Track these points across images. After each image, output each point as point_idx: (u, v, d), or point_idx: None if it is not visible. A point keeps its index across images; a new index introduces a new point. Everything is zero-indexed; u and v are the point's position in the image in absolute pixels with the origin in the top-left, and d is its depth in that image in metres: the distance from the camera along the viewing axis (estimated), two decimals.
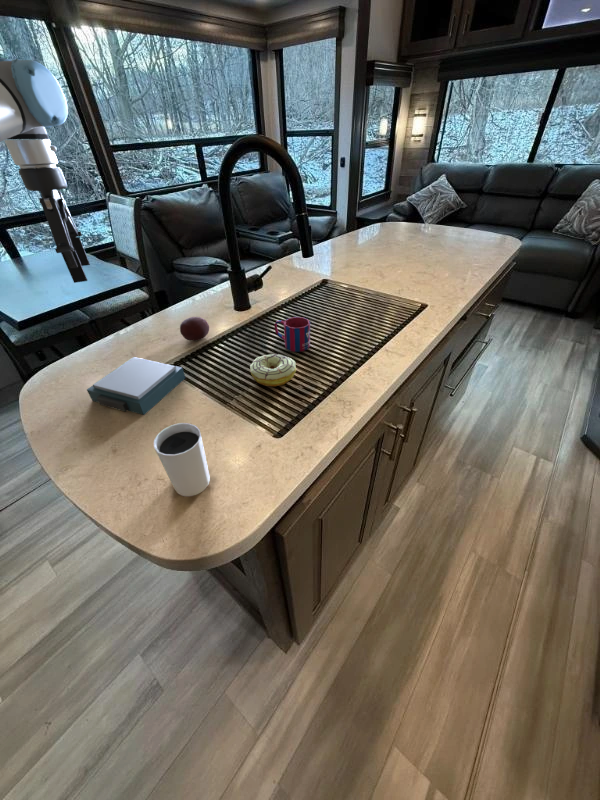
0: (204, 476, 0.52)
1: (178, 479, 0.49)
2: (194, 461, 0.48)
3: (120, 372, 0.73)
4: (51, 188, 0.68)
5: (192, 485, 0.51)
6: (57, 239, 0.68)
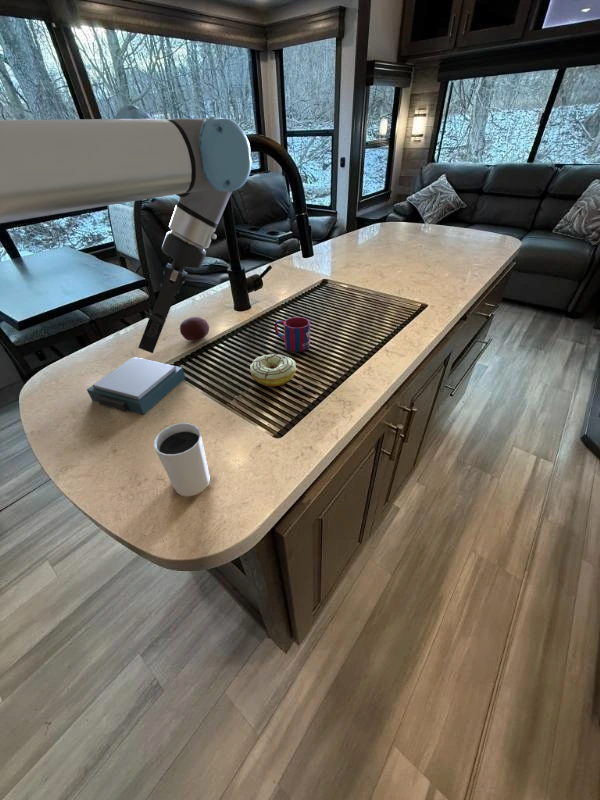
0: (204, 476, 0.52)
1: (178, 479, 0.49)
2: (194, 461, 0.48)
3: (120, 372, 0.73)
4: (186, 264, 0.61)
5: (192, 485, 0.51)
6: (157, 308, 0.58)
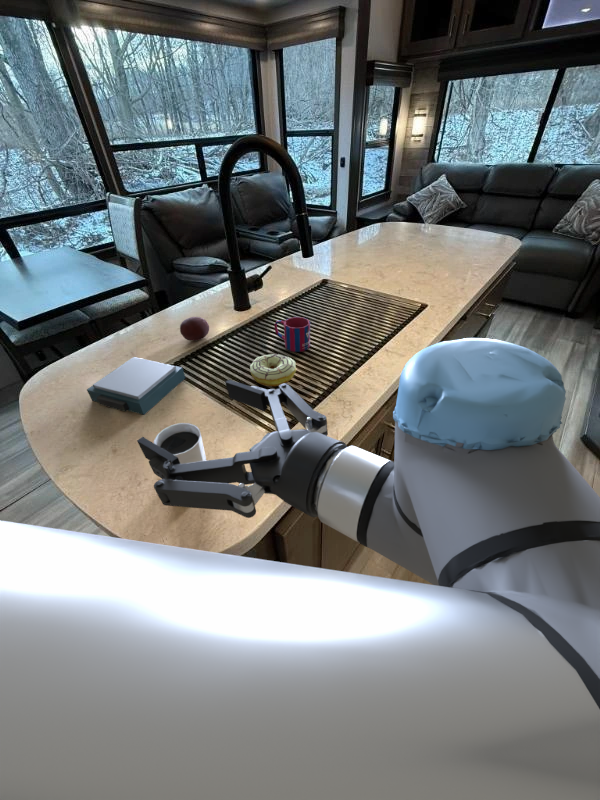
0: None
1: None
2: (194, 461, 0.48)
3: (120, 372, 0.73)
4: (283, 500, 0.31)
5: None
6: (173, 494, 0.31)
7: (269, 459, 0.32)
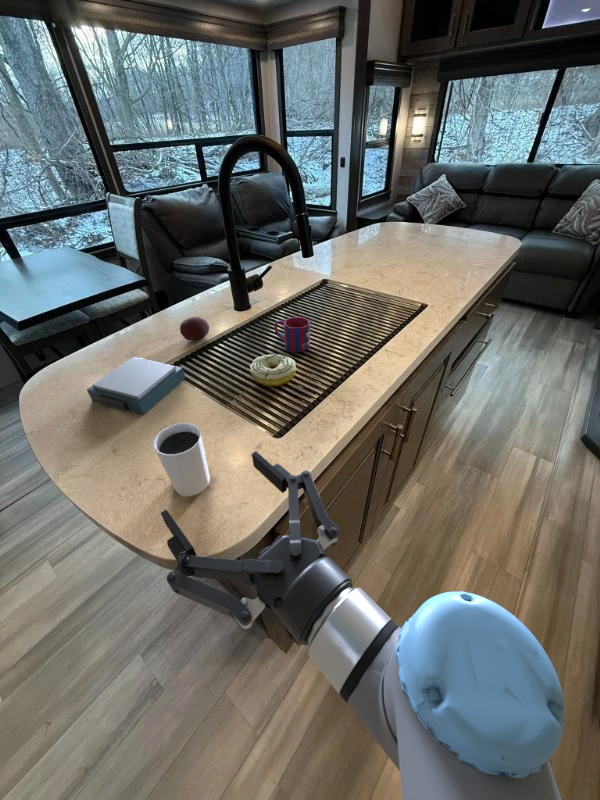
0: (204, 476, 0.52)
1: (178, 479, 0.49)
2: (194, 461, 0.48)
3: (120, 372, 0.73)
4: None
5: (192, 485, 0.51)
6: (182, 590, 0.34)
7: (275, 575, 0.34)
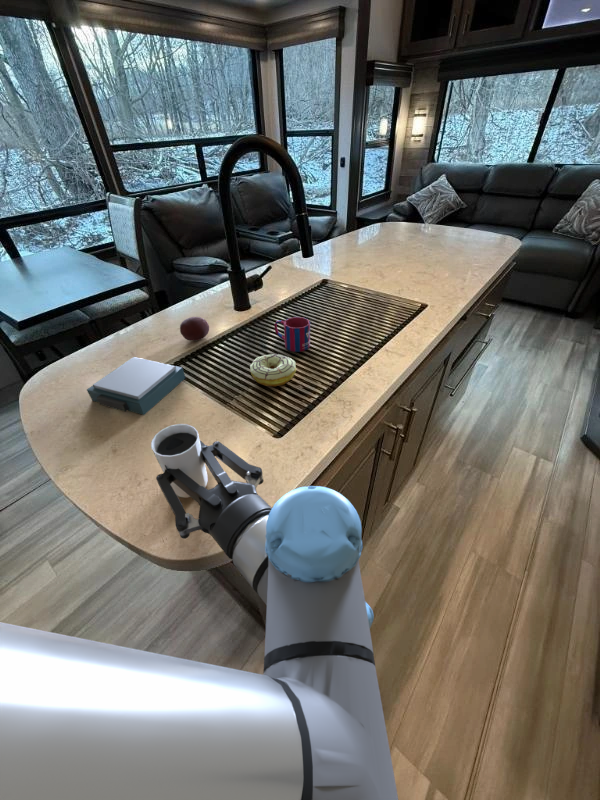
0: (201, 478, 0.52)
1: None
2: (191, 463, 0.48)
3: (120, 372, 0.73)
4: None
5: None
6: (161, 489, 0.45)
7: (211, 506, 0.42)
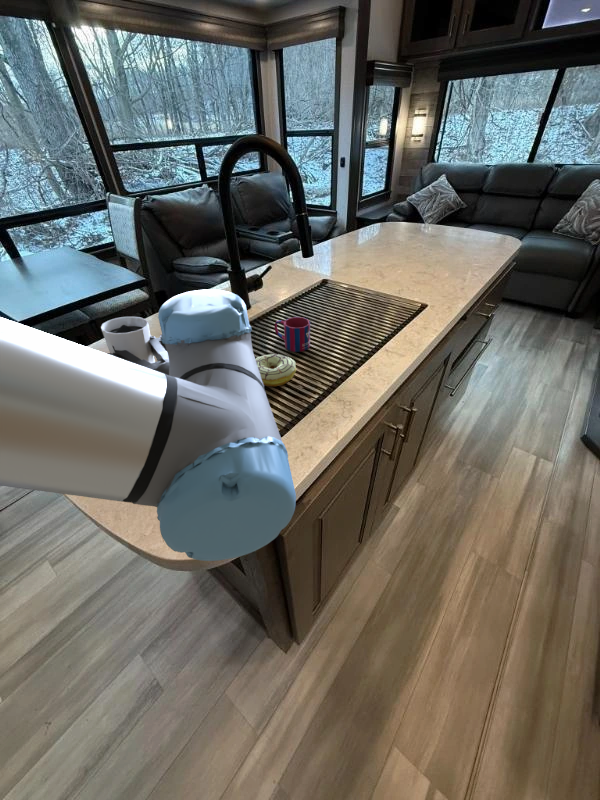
0: None
1: None
2: (137, 348, 0.51)
3: None
4: None
5: None
6: None
7: None
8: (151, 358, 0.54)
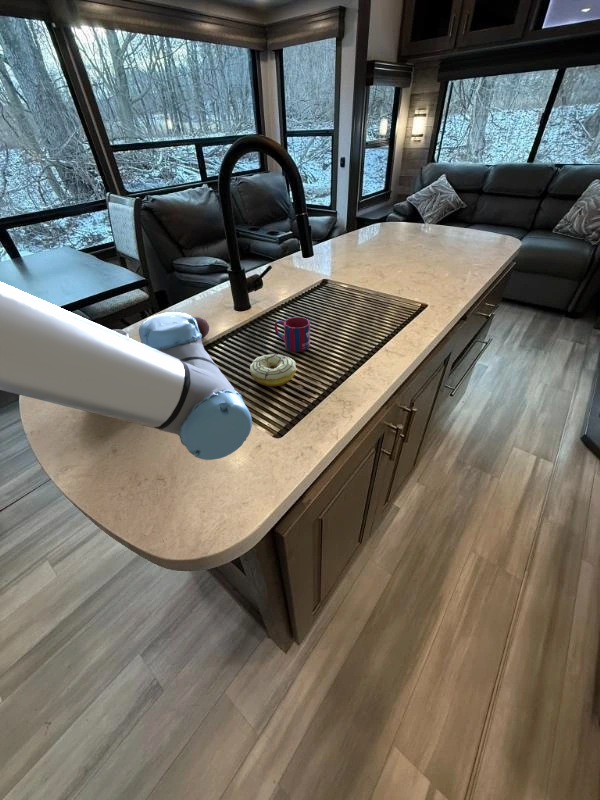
0: None
1: None
2: None
3: None
4: None
5: None
6: None
7: None
8: None
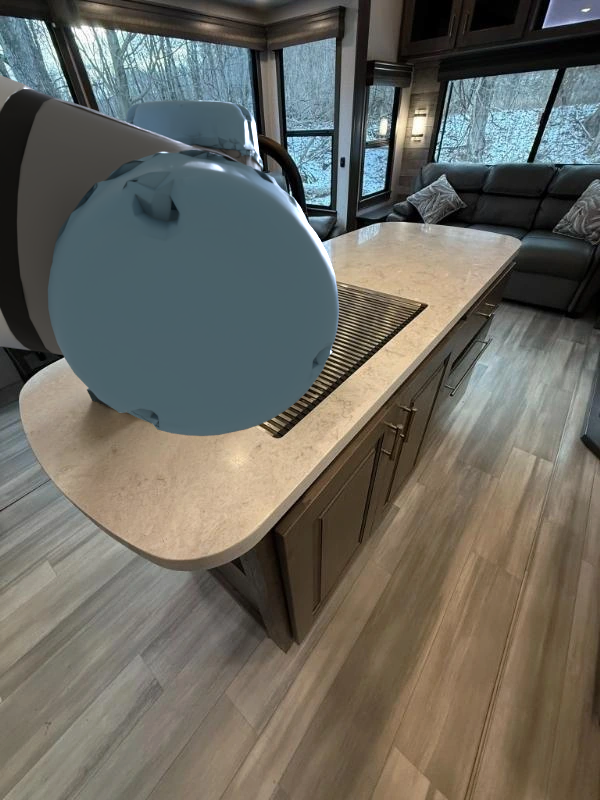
0: None
1: None
2: None
3: None
4: None
5: None
6: None
7: None
8: None
